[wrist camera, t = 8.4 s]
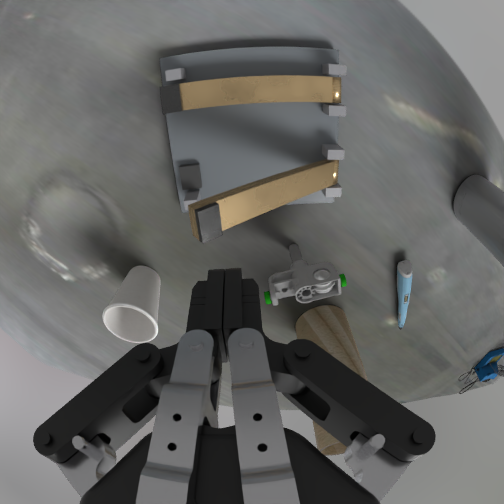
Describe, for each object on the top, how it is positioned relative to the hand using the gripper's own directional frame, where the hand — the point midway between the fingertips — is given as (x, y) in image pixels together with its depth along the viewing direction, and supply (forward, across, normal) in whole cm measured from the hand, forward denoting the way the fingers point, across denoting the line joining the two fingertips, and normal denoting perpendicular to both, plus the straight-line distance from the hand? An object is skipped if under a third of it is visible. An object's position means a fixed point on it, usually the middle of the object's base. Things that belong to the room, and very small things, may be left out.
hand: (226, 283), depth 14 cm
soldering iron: (+26, -96, +87) cm, 132 cm away
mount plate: (+25, -3, -2) cm, 25 cm away
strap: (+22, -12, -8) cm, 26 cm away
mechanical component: (+25, -8, +16) cm, 31 cm away
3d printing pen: (+29, -32, +33) cm, 54 cm away
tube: (+25, -14, +34) cm, 44 cm away
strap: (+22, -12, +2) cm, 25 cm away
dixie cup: (+25, +16, +20) cm, 36 cm away
